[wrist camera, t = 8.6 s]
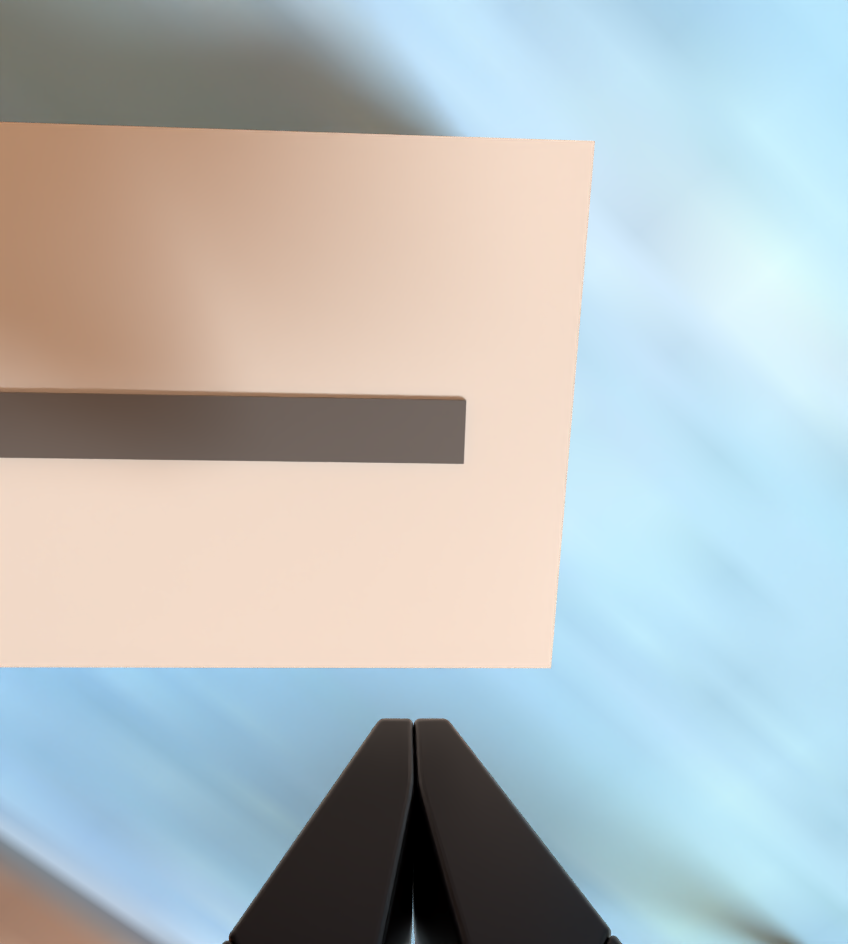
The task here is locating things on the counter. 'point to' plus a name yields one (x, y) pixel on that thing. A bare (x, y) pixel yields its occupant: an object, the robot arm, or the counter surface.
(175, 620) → the board
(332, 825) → the robot arm
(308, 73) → the counter surface
